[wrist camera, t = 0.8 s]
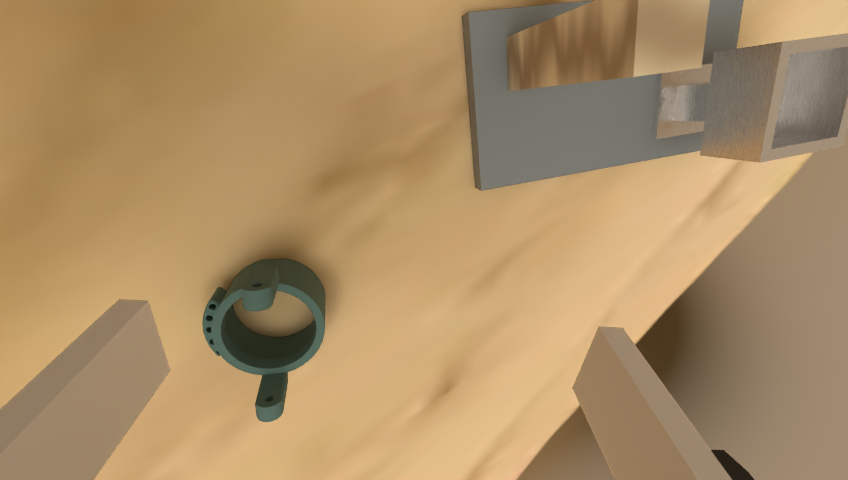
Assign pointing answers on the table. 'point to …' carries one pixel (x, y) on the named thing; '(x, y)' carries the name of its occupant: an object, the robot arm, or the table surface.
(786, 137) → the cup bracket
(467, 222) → the table surface
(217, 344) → the bracket
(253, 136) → the table surface
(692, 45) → the light brown tall block
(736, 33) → the board
